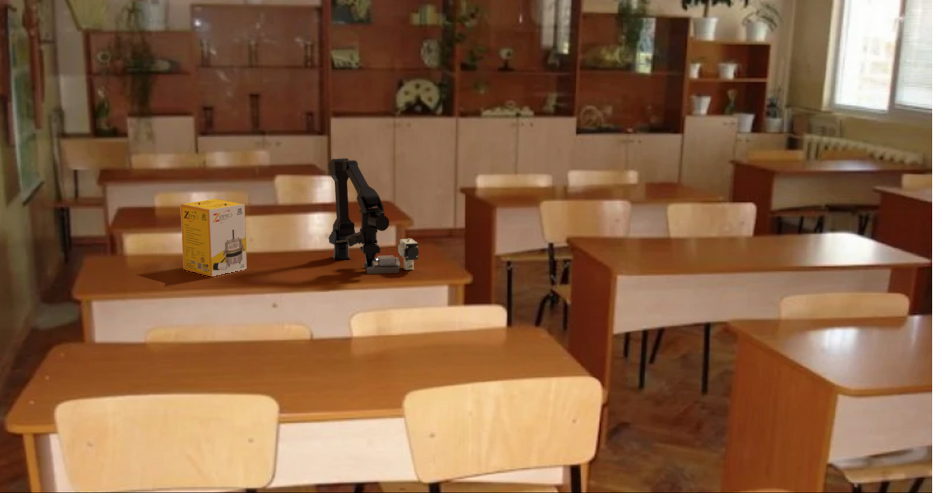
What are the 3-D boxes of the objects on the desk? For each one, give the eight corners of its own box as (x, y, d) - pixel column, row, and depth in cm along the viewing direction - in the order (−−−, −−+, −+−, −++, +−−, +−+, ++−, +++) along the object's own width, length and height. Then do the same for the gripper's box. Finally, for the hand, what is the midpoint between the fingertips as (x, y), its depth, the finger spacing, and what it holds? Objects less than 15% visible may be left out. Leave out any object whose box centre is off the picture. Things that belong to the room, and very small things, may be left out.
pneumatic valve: (409, 264, 348) (410, 234, 345) (418, 272, 337) (419, 241, 335) (396, 265, 346) (396, 235, 344) (404, 273, 336) (405, 242, 333)
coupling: (372, 268, 341) (372, 255, 340) (398, 267, 344) (398, 255, 342) (374, 271, 336) (374, 259, 335) (400, 271, 339) (400, 258, 338)
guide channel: (364, 267, 343) (364, 262, 342) (395, 266, 345) (395, 261, 345) (367, 273, 334) (367, 268, 333) (399, 272, 336) (399, 267, 336)
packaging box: (218, 262, 345) (216, 198, 339) (246, 269, 336) (244, 203, 330) (183, 270, 332) (180, 204, 327) (211, 278, 323) (208, 209, 317)
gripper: (344, 221, 342) (345, 261, 345) (349, 231, 324) (349, 273, 327) (374, 220, 344) (373, 260, 348) (380, 231, 326) (380, 272, 330)
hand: (368, 266), depth 338 cm, fingers closed, pressing on coupling
